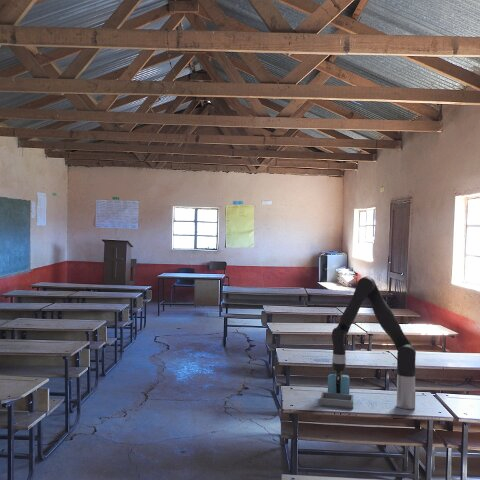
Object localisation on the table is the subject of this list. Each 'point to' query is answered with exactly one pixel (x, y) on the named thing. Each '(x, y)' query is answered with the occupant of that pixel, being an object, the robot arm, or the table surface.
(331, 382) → the light blue flat block
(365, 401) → the table surface
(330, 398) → the holder tray
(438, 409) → the table surface
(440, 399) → the table surface
